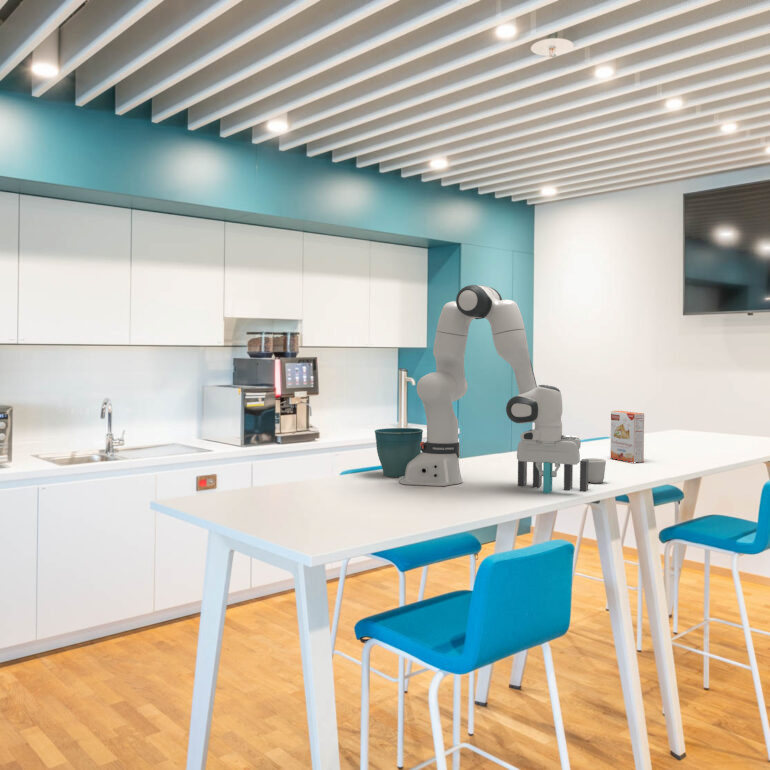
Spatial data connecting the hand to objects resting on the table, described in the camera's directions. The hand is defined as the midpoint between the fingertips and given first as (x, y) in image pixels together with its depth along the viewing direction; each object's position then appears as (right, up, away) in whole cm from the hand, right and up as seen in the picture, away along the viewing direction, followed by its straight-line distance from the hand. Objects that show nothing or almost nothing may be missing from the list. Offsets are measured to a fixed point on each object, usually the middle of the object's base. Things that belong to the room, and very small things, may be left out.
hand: (547, 476), depth 244 cm
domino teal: (0, -5, 0) cm, 5 cm away
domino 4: (+13, -5, +4) cm, 14 cm away
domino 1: (-6, -5, +12) cm, 14 cm away
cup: (+20, -5, +20) cm, 28 cm away
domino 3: (+8, -5, +6) cm, 11 cm away
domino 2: (-1, -5, +10) cm, 11 cm away
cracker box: (+49, -2, +70) cm, 86 cm away
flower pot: (-48, -4, +33) cm, 59 cm away
